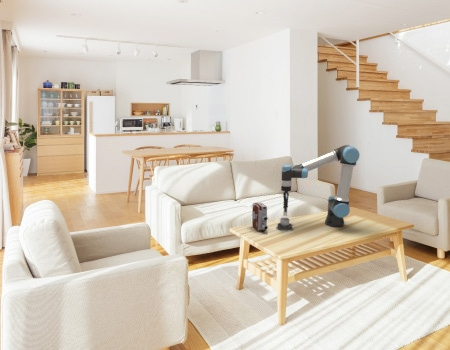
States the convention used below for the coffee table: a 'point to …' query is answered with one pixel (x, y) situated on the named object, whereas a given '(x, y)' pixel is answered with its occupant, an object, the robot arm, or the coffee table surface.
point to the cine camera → (259, 217)
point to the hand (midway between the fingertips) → (285, 215)
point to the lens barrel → (283, 228)
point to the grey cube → (284, 222)
